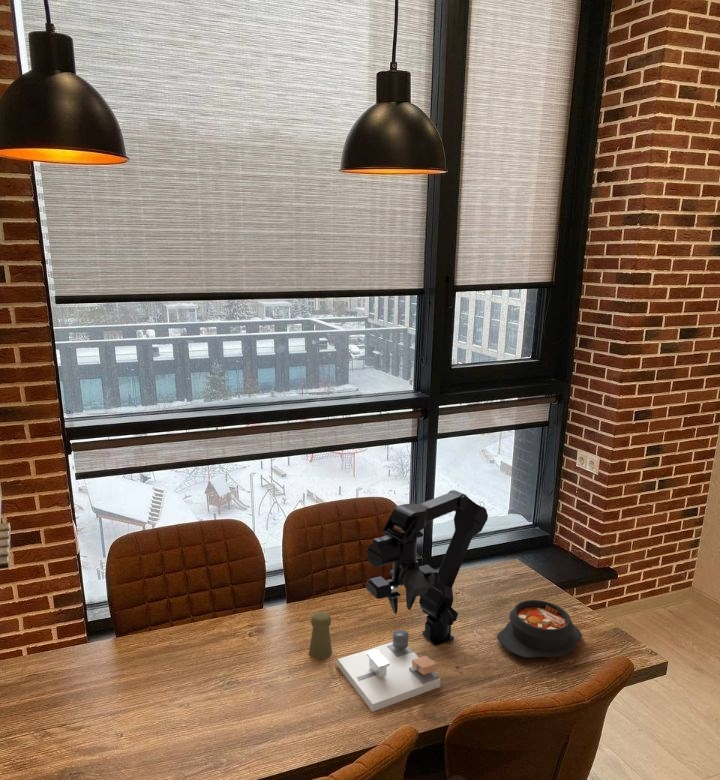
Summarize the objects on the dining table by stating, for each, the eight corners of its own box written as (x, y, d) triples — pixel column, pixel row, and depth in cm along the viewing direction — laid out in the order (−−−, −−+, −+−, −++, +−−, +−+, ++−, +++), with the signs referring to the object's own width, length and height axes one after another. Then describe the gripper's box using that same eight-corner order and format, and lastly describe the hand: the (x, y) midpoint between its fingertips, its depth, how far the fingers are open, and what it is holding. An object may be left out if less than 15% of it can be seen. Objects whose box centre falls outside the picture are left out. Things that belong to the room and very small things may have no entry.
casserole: (547, 613, 184) (549, 587, 182) (597, 647, 168) (601, 620, 166) (481, 635, 172) (483, 608, 170) (529, 675, 156) (532, 645, 154)
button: (402, 638, 163) (403, 628, 163) (410, 646, 160) (411, 636, 159) (389, 642, 162) (390, 631, 161) (397, 650, 158) (398, 640, 158)
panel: (400, 645, 166) (401, 637, 165) (440, 686, 150) (440, 677, 150) (337, 666, 157) (337, 657, 156) (372, 711, 141) (372, 701, 141)
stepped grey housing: (376, 662, 155) (377, 649, 154) (389, 676, 150) (389, 663, 149) (366, 665, 153) (366, 652, 153) (378, 679, 148) (379, 666, 148)
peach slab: (426, 661, 154) (425, 655, 154) (437, 669, 150) (437, 663, 150) (411, 666, 152) (411, 660, 152) (422, 674, 148) (422, 668, 148)
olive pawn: (328, 661, 159) (329, 622, 156) (306, 657, 160) (306, 619, 157) (334, 647, 164) (335, 609, 162) (312, 643, 166) (313, 606, 163)
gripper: (389, 578, 144) (386, 637, 148) (453, 561, 153) (450, 618, 156) (366, 557, 154) (364, 613, 157) (428, 543, 163) (425, 597, 166)
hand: (401, 611), depth 159 cm, fingers open, 4 cm apart
